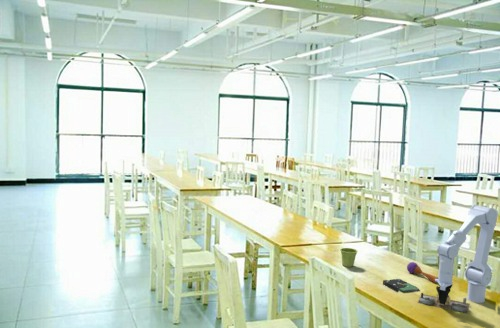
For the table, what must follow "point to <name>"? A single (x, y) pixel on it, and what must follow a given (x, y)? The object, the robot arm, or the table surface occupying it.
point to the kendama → (419, 271)
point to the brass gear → (446, 299)
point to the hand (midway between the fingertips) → (443, 301)
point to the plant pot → (348, 256)
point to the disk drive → (400, 285)
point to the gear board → (452, 306)
